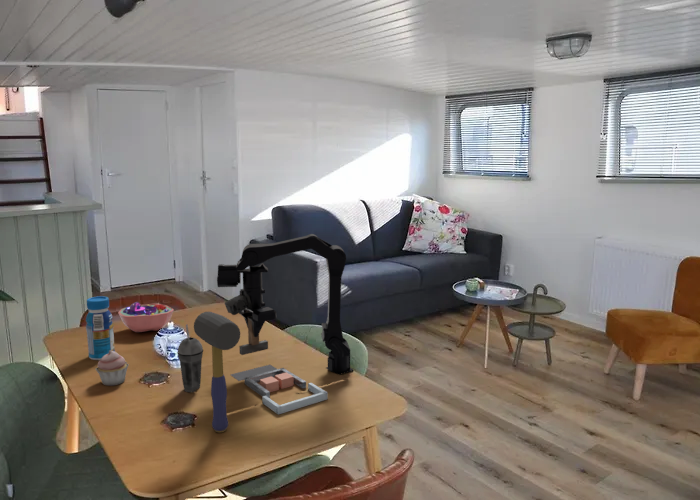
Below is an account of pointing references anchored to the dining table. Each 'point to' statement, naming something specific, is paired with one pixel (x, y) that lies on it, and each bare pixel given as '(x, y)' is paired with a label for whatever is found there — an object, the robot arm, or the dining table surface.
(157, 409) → the dining table surface
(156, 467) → the dining table surface
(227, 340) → the rubber mallet
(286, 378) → the salmon pink cube
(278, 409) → the tray
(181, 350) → the beverage cup
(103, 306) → the beverage bottle
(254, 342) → the t-shaped scraper
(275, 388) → the dusty rose cube
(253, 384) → the slot channel
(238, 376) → the mat
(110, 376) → the cupcake
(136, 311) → the cell model
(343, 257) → the robot arm
